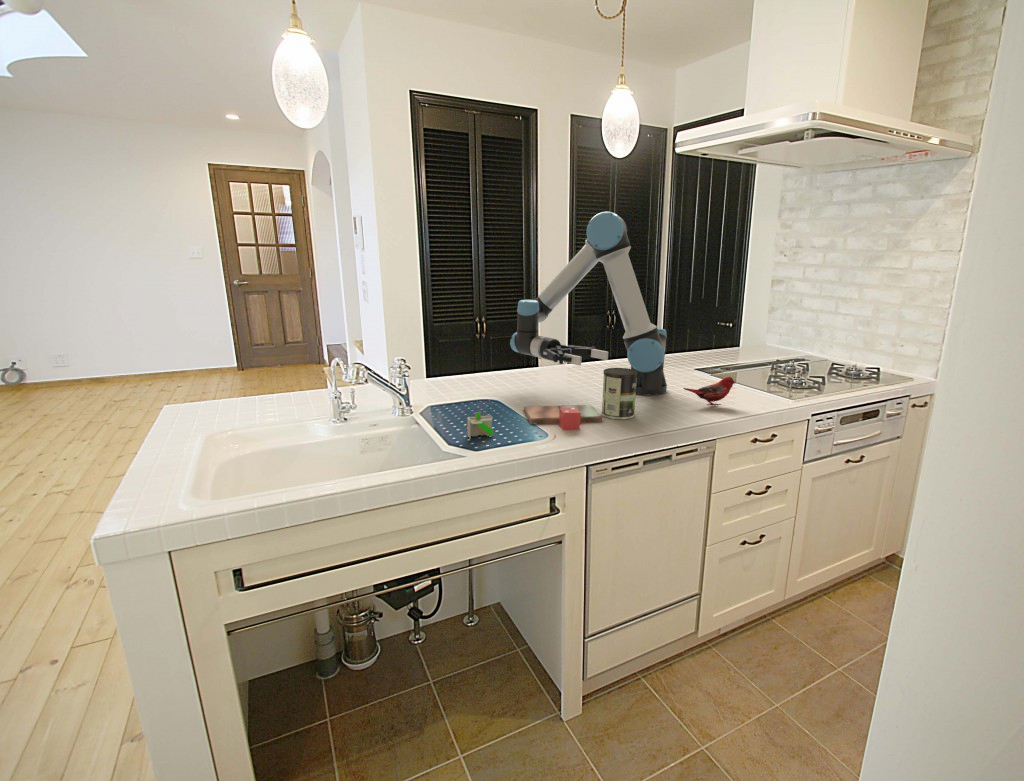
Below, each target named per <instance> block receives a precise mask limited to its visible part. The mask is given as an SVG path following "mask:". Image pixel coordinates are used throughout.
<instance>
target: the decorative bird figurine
mask: <svg viewBox="0 0 1024 781" xmlns="http://www.w3.org/2000/svg"><path fill="white" fill-rule="evenodd" d="M735 384H736V381H735V380H734V379H733V377H731V376H727V377H724V378H722V379H721V380H720V381H717V382H716V383H713V384H709V385H705V386H702V387H701V388H698V389H693V388H689V387H688V388H686V387H683V389H684V390H685V391H688V392H691V393H694V394H695V395H696V396H697V397H698V398H699V399H702V400H704V401H707V403H706V406H708V405H712V406H713V405H717V406H722V404H721V403H719V404H718V403H715V402H717V401H721V400H722V399H724V398H725V397H727V396H728V394H729V393H730V391H731V389H732V388H733V386H734V385H735ZM713 402H714V403H713Z"/></svg>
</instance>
